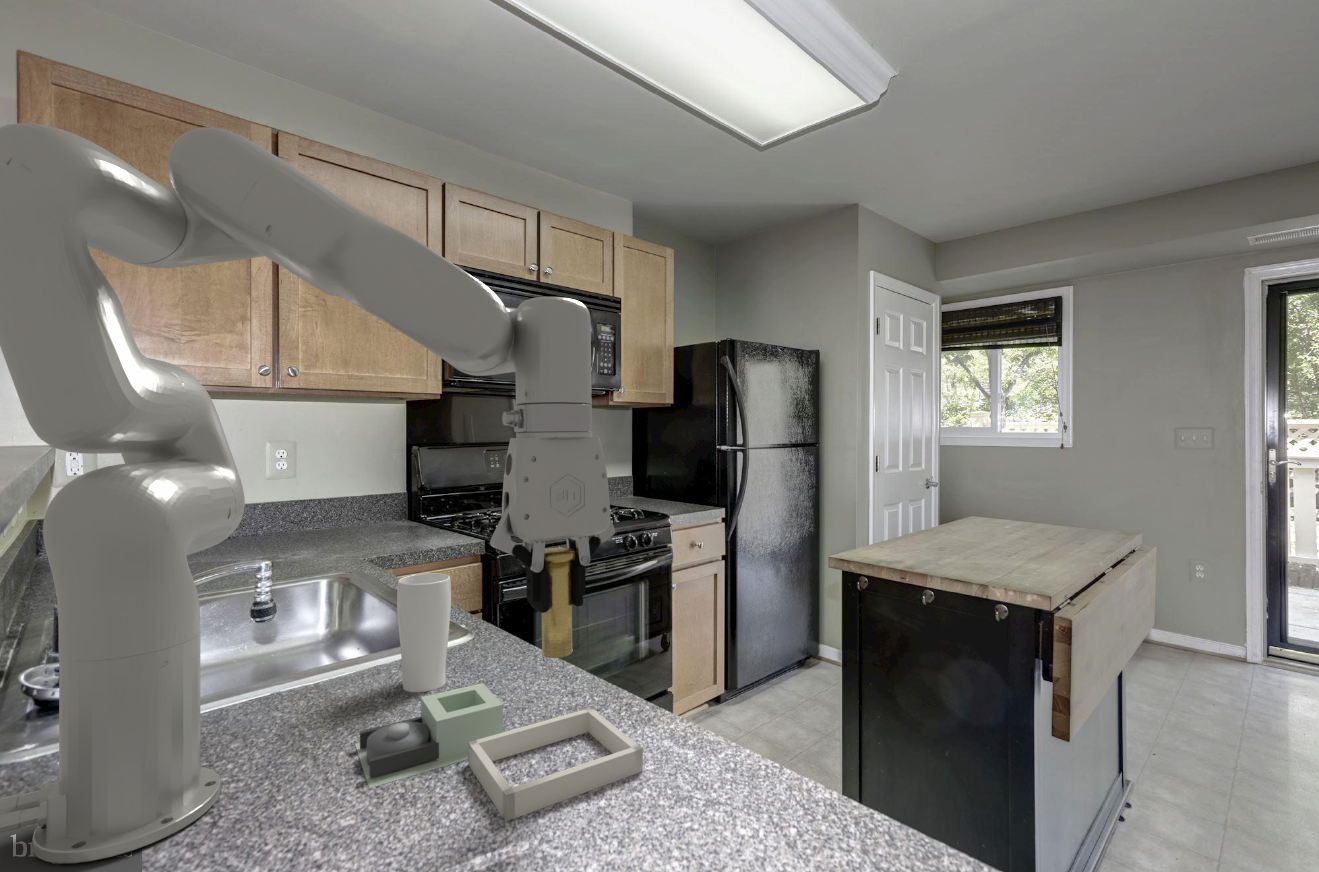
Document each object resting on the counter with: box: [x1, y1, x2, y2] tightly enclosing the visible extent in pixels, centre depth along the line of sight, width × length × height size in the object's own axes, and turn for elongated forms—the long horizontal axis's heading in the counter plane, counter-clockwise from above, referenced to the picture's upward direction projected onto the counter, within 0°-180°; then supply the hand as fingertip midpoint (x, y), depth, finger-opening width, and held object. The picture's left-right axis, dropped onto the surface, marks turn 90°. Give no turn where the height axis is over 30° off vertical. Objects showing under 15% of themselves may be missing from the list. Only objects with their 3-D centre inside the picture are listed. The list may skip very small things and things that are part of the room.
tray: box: [467, 707, 644, 822], centre depth 60 cm, size 14×11×3 cm
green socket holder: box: [354, 682, 504, 789], centre depth 65 cm, size 14×10×5 cm
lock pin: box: [541, 547, 575, 659], centre depth 61 cm, size 4×4×10 cm
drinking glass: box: [396, 572, 452, 693], centre depth 81 cm, size 7×7×15 cm
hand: (556, 604), depth 61 cm, fingers closed on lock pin, 3 cm apart
